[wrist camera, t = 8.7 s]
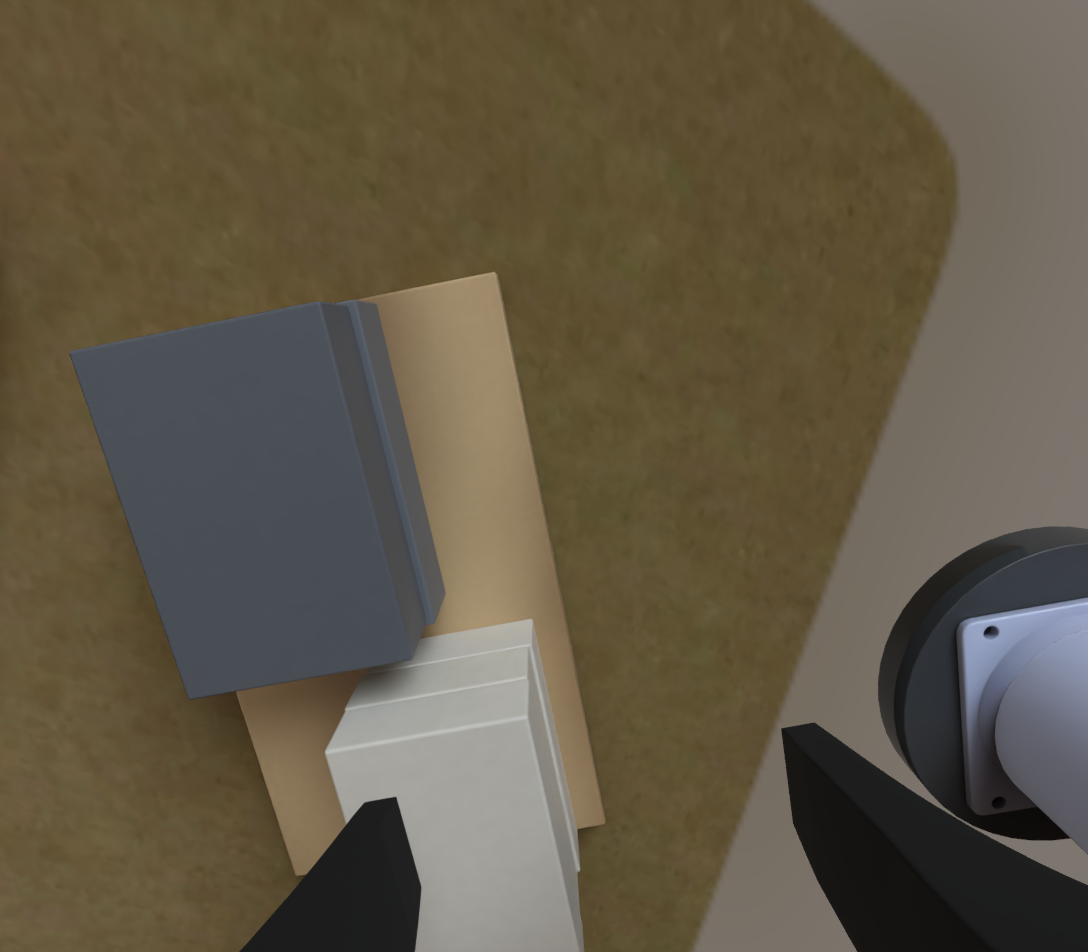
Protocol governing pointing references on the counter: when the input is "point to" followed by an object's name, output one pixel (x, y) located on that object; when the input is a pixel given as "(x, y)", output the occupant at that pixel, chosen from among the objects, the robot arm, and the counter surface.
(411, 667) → the white books
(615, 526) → the counter surface
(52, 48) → the counter surface
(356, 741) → the white book
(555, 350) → the counter surface
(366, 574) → the grey books
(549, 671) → the shelf board
